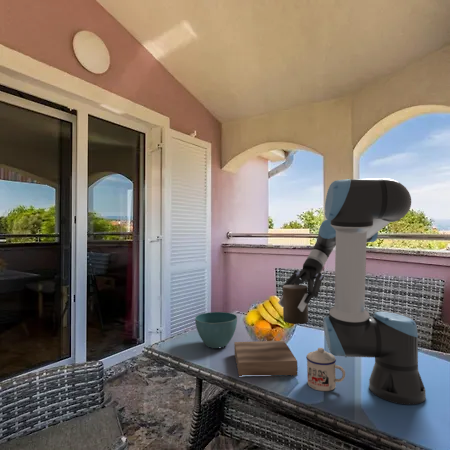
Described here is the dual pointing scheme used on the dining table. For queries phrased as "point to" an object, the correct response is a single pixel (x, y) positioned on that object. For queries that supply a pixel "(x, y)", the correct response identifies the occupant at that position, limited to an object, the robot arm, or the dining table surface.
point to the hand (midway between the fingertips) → (290, 307)
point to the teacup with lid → (322, 370)
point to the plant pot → (216, 328)
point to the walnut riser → (264, 358)
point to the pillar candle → (294, 304)
